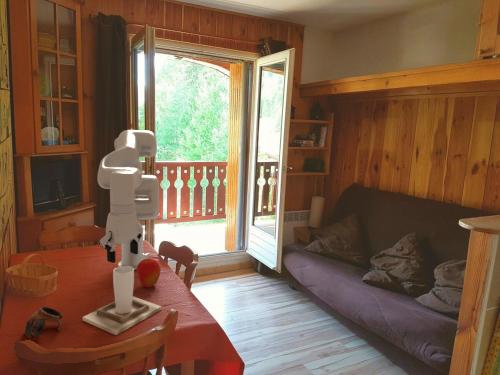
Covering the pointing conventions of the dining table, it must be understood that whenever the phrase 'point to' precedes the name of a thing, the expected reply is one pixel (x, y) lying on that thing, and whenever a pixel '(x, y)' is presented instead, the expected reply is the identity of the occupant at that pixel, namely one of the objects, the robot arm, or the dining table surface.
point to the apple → (148, 272)
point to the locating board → (121, 316)
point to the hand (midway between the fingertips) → (123, 257)
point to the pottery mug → (42, 321)
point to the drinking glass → (123, 288)
